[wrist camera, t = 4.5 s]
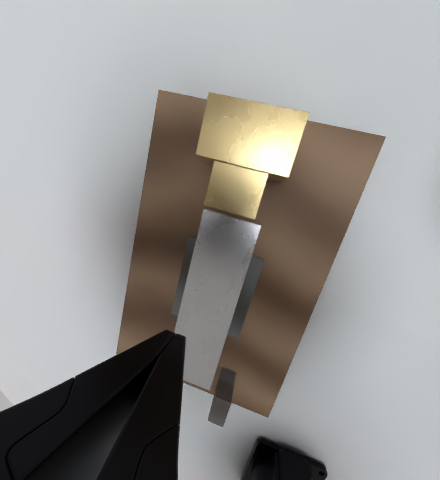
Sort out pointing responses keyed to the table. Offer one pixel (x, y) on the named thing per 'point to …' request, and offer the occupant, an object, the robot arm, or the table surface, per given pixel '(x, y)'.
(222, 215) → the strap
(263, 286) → the base
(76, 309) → the table surface
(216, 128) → the gold t-shaped block
